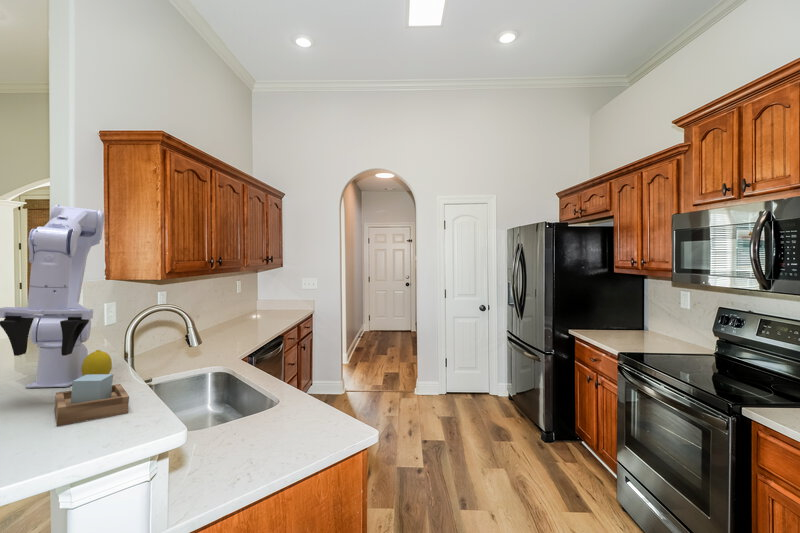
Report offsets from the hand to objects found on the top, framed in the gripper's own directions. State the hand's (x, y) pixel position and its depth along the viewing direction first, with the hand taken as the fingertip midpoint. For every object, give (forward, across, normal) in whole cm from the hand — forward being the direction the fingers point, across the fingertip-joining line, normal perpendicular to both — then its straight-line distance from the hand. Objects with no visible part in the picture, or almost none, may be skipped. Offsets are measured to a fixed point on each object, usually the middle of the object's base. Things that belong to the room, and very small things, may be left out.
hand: (43, 354), depth 71 cm
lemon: (+10, +3, +14) cm, 18 cm away
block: (+8, +11, -5) cm, 14 cm away
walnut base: (+10, +11, -5) cm, 16 cm away
